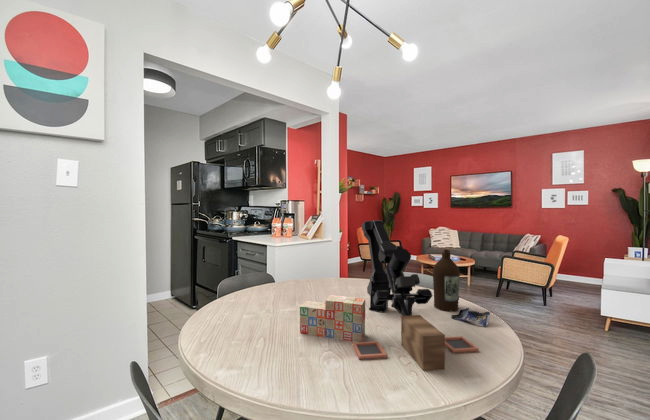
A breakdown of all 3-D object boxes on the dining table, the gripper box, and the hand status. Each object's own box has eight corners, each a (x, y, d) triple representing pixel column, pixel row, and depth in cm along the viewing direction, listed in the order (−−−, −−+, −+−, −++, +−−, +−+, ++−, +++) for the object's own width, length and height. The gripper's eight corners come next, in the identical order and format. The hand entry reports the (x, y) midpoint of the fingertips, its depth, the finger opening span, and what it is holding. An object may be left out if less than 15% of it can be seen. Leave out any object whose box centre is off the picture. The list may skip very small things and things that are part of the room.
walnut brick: (401, 345, 87) (401, 315, 86) (419, 343, 87) (419, 315, 87) (423, 370, 73) (423, 336, 73) (444, 369, 73) (444, 334, 73)
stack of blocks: (299, 333, 95) (299, 297, 95) (306, 326, 101) (306, 292, 100) (362, 343, 88) (362, 304, 88) (365, 334, 94) (365, 298, 94)
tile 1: (352, 346, 86) (352, 342, 86) (377, 344, 87) (377, 341, 87) (359, 359, 78) (359, 356, 78) (386, 358, 79) (386, 354, 79)
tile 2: (438, 340, 89) (438, 337, 89) (461, 339, 90) (461, 336, 90) (453, 353, 81) (453, 350, 81) (478, 351, 82) (478, 348, 82)
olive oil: (427, 304, 124) (427, 247, 124) (448, 302, 126) (448, 247, 126) (442, 313, 113) (443, 251, 113) (465, 311, 116) (465, 250, 116)
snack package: (462, 329, 99) (495, 328, 99) (460, 310, 101) (492, 309, 101) (447, 321, 111) (477, 320, 111) (446, 304, 112) (475, 303, 112)
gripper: (375, 266, 91) (387, 312, 80) (429, 264, 94) (448, 309, 83) (368, 283, 99) (378, 328, 88) (418, 282, 101) (434, 325, 91)
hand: (409, 322), depth 87 cm, fingers closed, pressing on walnut brick
